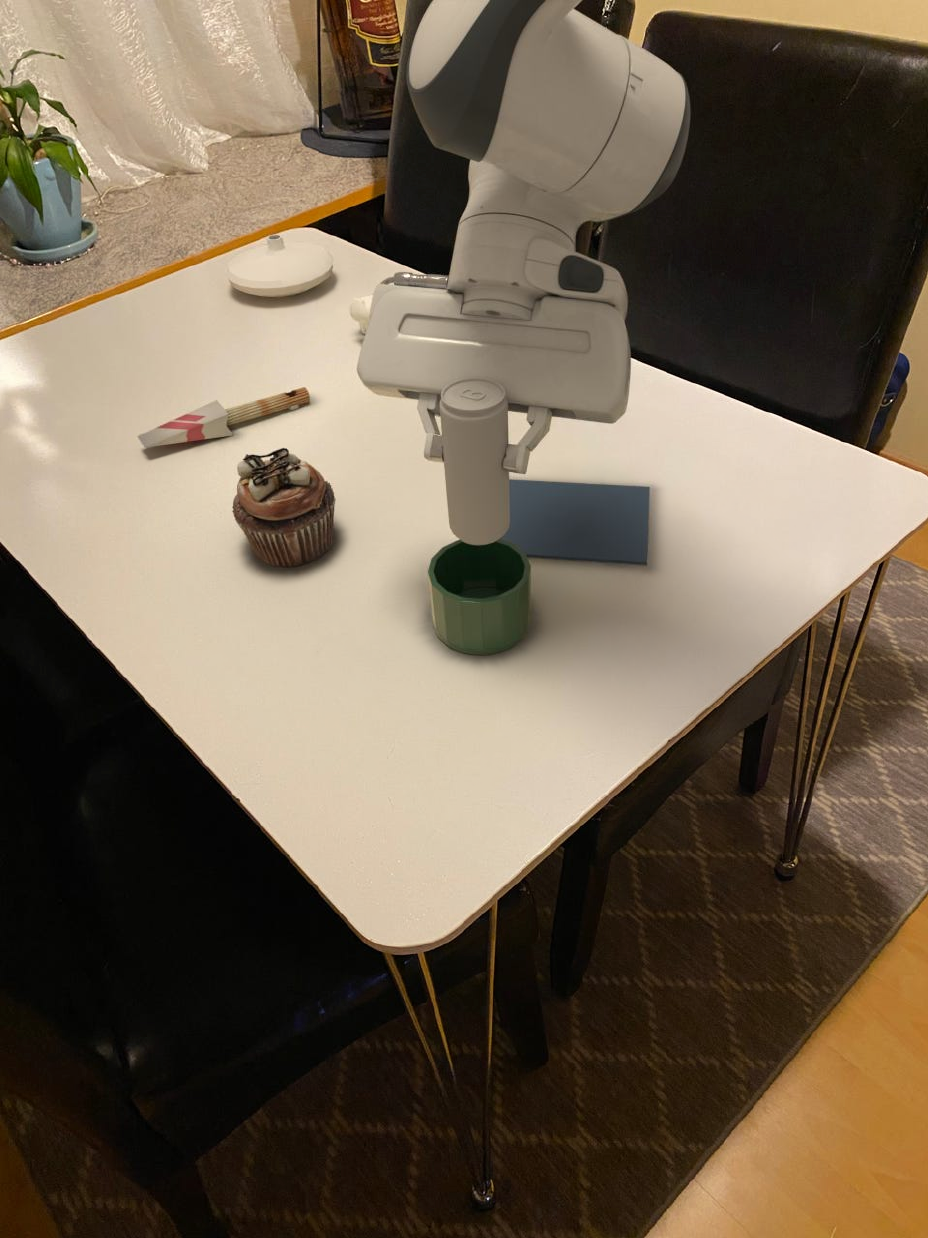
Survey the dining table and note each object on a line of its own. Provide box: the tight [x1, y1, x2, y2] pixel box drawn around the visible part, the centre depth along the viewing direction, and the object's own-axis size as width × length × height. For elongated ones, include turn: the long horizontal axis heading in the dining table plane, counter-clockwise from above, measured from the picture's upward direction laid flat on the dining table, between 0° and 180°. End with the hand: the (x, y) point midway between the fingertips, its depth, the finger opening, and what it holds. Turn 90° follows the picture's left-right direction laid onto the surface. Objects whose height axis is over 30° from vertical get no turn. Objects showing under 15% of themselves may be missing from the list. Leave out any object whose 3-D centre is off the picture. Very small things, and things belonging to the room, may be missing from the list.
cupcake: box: [231, 447, 337, 568], centre depth 84 cm, size 10×10×10 cm
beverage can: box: [439, 377, 510, 545], centre depth 67 cm, size 5×5×12 cm
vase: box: [225, 233, 334, 298], centre depth 130 cm, size 16×16×7 cm
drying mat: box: [500, 478, 650, 566], centre depth 88 cm, size 16×12×1 cm
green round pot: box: [427, 539, 532, 656], centre depth 76 cm, size 8×8×6 cm
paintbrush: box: [136, 386, 311, 448], centre depth 103 cm, size 4×3×20 cm
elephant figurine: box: [349, 294, 373, 335], centre depth 117 cm, size 7×8×6 cm
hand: (474, 466), depth 66 cm, fingers closed on beverage can, 5 cm apart
